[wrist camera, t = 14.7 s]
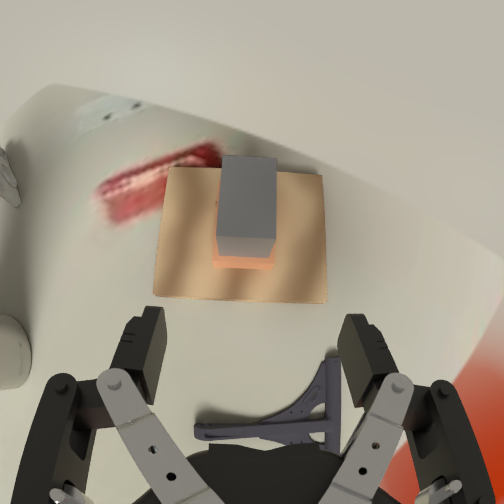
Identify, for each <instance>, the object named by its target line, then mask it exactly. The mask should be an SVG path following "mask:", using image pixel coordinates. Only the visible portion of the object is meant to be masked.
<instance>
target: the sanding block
mask: <svg viewBox="0 0 504 504" xmlns="http://www.w3.org/2000/svg"><path fill="white" fill-rule="evenodd" d="M276 220H277V158H268V157H253V156H234V155H223V159H222V170H221V180H220V181H219V182H218V192H217V204H216V216H215V228H214V241H213V254H212V262H213V266H214V267H222V268H242V269H263V270H272V268H273V266H274V264H275V241H276Z"/></svg>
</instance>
